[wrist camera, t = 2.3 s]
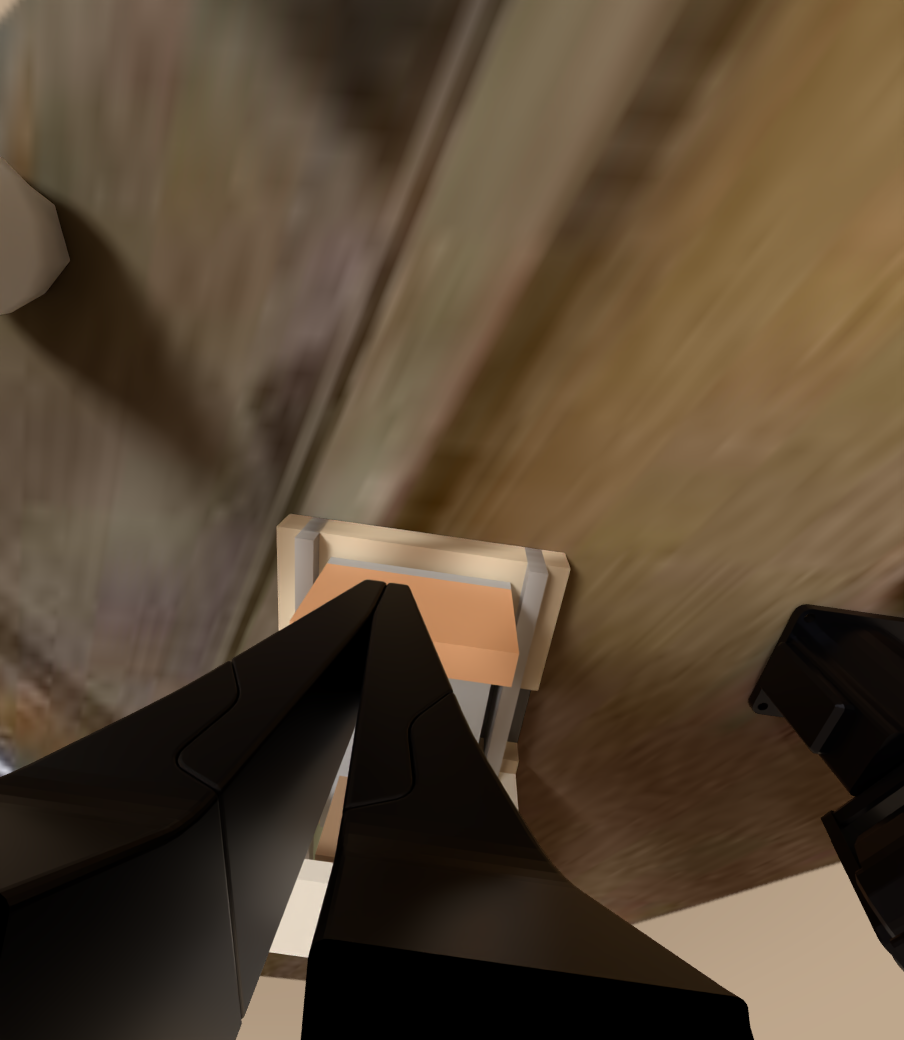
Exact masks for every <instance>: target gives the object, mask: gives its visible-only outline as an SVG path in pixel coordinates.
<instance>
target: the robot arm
mask: <svg viewBox="0 0 904 1040" xmlns="http://www.w3.org/2000/svg"><path fill="white" fill-rule="evenodd" d="M808 614H809V615H808ZM806 615H808V616H807V617H805V616H806ZM804 617H805V618H804ZM748 703H749V705H750V707H751V708H752V710H753V711H754V712H755V713H758V714H764V715H771V716H778V717H784V718H785V719H786V720H787V721H788V723H789V724H790V725H791V726H792V728H793V729H794V730H795V731H796V733H797V734H798V735H799V737H800V738H801V739H802V740H803V742H804V743H805V744H806V745H807V747H808V748H809V749H810V751H812V752H813V753H816V754H819V755H820V757H821V758H822V759H823V760H824V762H825V763H826V764H827V765H828V767H829V768H830V769H831V770H832V772H833V773H834V774H835V775H836V777H837V778H838V779H839V780H840V782H841V783H842V784H843V785H844V787H845V788H846V789H847V790H848V792H849V793H850V794H851V795H853V796H855V797H854V798H853V799H851V800H850V801H848V802H847V803H846V804H844V805H843V806H842V807H840V808H839V809H837V810H836V811H835V812H834V811H832V810H831V811H830V812H828V813H827V814H825V815H824V816H823V817H821V820H822V822H823V824H824V826H825V828H826V831H827V833H828V835H829V837H830V839H831V842H832V844H833V846H834V848H835V850H836V852H837V854H838V857H839V859H840V861H841V863H842V865H843V867H844V869H845V871H846V873H847V875H848V877H849V879H850V881H851V883H852V885H853V888H854V890H855V892H856V893H857V896H858V898H859V900H860V902H861V904H862V906H863V908H864V910H865V912H866V914H867V916H868V918H869V921H870V922H871V925H872V927H873V929H874V931H875V933H876V935H877V937H878V939H879V941H880V942H881V943H882V945H883V946H884V947H885V949H886V950H887V951H888V952H889V953H890V954H891V955H892V956H893V958H894V960H895V961H896V963H897V964H898V965H899V967H900V968H901V969H902V970H903V971H904V618H900V617H893V616H886V615H879V614H872V613H865V612H858V611H851V610H844V609H837V608H830V607H823V606H816V605H809V604H806V605H801V606H799V607H798V608H796V609H795V611H794V612H793V614H792V616H791V618H790V620H789V622H788V624H787V626H786V628H785V630H784V632H783V634H782V636H781V637H780V639H779V641H778V643H777V645H776V647H775V649H774V651H773V653H772V655H771V657H770V659H769V661H768V663H767V665H766V667H765V669H764V671H763V673H762V675H761V677H760V679H759V681H758V683H757V685H756V686H755V688H754V690H753V692H752V694H751V696H750V698H749V701H748ZM354 729H355V732H354V739H353V745H352V752H351V758H350V765H349V771H348V778H347V784H346V791H345V797H344V804H343V810H342V818H341V823H340V829H339V835H338V841H337V846H336V852H335V857H334V862H333V866H332V870H331V874H330V877H329V881H328V885H327V888H326V892H325V896H324V900H323V903H322V907H321V911H320V914H319V918H318V922H317V925H316V929H315V933H314V937H313V940H312V944H311V948H310V951H309V955H308V964H307V975H306V987H305V999H304V1009H303V1010H304V1011H303V1021H302V1032H301V1040H754V1038H753V1035H752V1031H751V1028H750V1021H749V1012H748V1006H747V1004H746V1003H745V1001H744V1000H743V999H741V998H739V997H738V996H736V995H735V994H733V993H731V992H729V991H728V990H726V989H725V988H723V987H722V986H720V985H719V984H717V983H716V982H714V981H713V980H711V979H710V978H709V977H707V976H706V975H704V974H703V973H701V972H700V971H698V970H697V969H695V968H694V967H692V966H691V965H690V964H688V963H686V962H685V961H684V960H682V959H681V958H679V957H678V956H676V955H675V954H673V953H672V952H670V951H669V950H668V949H666V948H665V947H663V946H662V945H660V944H659V943H657V942H656V941H654V940H653V939H651V938H650V937H648V936H647V935H646V934H644V933H643V932H641V931H640V930H638V929H637V928H635V927H634V926H632V925H631V924H629V923H628V922H626V921H625V920H624V919H622V918H621V917H619V916H618V915H616V914H615V913H613V912H612V911H610V910H609V909H607V908H606V907H604V906H603V905H602V904H600V903H599V902H597V901H596V900H594V899H593V898H591V897H590V896H588V895H587V894H585V893H584V892H582V891H581V890H580V889H578V888H577V887H575V886H574V885H573V884H572V883H571V882H570V881H569V880H568V879H567V878H565V877H564V876H563V875H562V873H561V872H560V871H559V870H558V869H557V868H556V867H555V866H554V864H553V863H552V862H551V861H550V859H549V858H548V857H547V855H546V854H545V853H544V851H543V850H542V848H541V847H540V845H539V844H538V842H537V841H536V839H535V837H534V836H533V834H532V832H531V831H530V829H529V828H528V826H527V824H526V823H525V821H524V819H523V818H522V816H521V814H520V813H519V811H518V809H517V808H516V806H515V804H514V803H513V801H512V800H511V798H510V796H509V795H508V793H507V791H506V790H505V788H504V786H503V785H502V783H501V781H500V780H499V778H498V776H497V775H496V773H495V772H494V770H493V768H492V767H491V765H490V763H489V762H488V760H487V758H486V756H485V755H484V753H483V751H482V749H481V747H480V746H479V744H478V742H477V740H476V739H475V737H474V735H473V733H472V731H471V729H470V727H469V725H468V722H467V720H466V718H465V716H464V714H463V712H462V710H461V707H460V705H459V703H458V700H457V698H456V695H455V694H454V693H453V689H452V686H451V684H450V682H449V679H448V677H447V675H446V672H445V670H444V667H443V665H442V663H441V660H440V658H439V656H438V653H437V651H436V648H435V646H434V644H433V641H432V639H431V637H430V634H429V632H428V629H427V627H426V625H425V622H424V620H423V618H422V615H421V613H420V610H419V608H418V606H417V603H416V601H415V599H414V596H413V594H412V591H411V589H410V587H409V586H408V585H405V584H398V583H388V584H386V583H385V582H383V581H377V580H370V579H366V580H364V581H362V582H360V583H359V584H357V585H355V586H354V587H352V588H350V589H349V590H347V591H345V592H344V593H342V594H340V595H338V596H337V597H335V598H333V599H332V600H330V601H328V602H327V603H325V604H323V605H322V606H320V607H318V608H317V609H315V610H313V611H312V612H310V613H308V614H307V615H305V616H303V617H302V618H300V619H298V620H296V621H295V622H293V623H291V624H290V625H288V626H286V627H285V628H283V629H281V630H280V631H278V632H276V633H275V634H273V635H271V636H270V637H268V638H266V639H265V640H263V641H261V642H260V643H258V644H256V645H254V646H253V647H251V648H249V649H248V650H246V651H244V652H243V653H241V654H239V655H238V656H236V657H234V658H233V659H232V662H231V661H227V662H226V663H224V664H222V665H221V666H219V667H217V668H216V669H214V670H212V671H210V672H209V673H207V674H205V675H204V676H202V677H200V678H198V679H196V680H195V681H193V682H191V683H189V684H188V685H186V686H184V687H182V688H181V689H179V690H177V691H175V692H173V693H171V694H169V695H167V696H165V697H163V698H162V699H160V700H158V701H156V702H154V703H152V704H150V705H148V706H146V707H144V708H142V709H140V710H138V711H136V712H134V713H132V714H130V715H128V716H126V717H124V718H122V719H120V720H118V721H116V722H114V723H112V724H110V725H108V726H106V727H104V728H102V729H100V730H98V731H96V732H94V733H92V734H90V735H88V736H86V737H84V738H82V739H80V740H78V741H75V742H73V743H71V744H69V745H67V746H65V747H63V748H61V749H59V750H57V751H55V752H53V753H51V754H49V755H47V756H45V757H43V758H41V759H39V760H37V761H35V762H33V763H31V764H29V765H27V766H24V767H22V768H20V769H18V770H16V771H13V772H11V773H9V774H7V775H4V776H2V777H0V1040H236V1037H237V1035H238V1032H239V1030H240V1027H241V1024H242V1021H241V1019H242V1018H243V1017H244V1016H245V1013H246V1011H247V1008H248V1005H249V1003H250V1000H251V998H252V995H253V992H254V990H255V987H256V984H257V982H258V979H259V977H260V974H261V972H262V969H263V966H264V964H265V961H266V958H267V956H268V953H269V951H270V948H271V945H272V943H273V940H274V938H275V935H276V932H277V930H278V927H279V925H280V922H281V919H282V917H283V914H284V911H285V909H286V906H287V904H288V901H289V898H290V896H291V893H292V891H293V888H294V885H295V883H296V880H297V878H298V875H299V872H300V870H301V867H302V864H303V862H304V859H305V857H306V854H307V851H308V849H309V846H310V844H311V841H312V838H313V836H314V833H315V831H316V828H317V825H318V823H319V820H320V817H321V815H322V812H323V810H324V807H325V804H326V802H327V799H328V797H329V794H330V791H331V789H332V786H333V784H334V781H335V778H336V776H337V773H338V770H339V768H340V765H341V763H342V760H343V757H344V755H345V752H346V750H347V747H348V744H349V742H350V739H351V737H352V734H353V731H354Z"/></svg>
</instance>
